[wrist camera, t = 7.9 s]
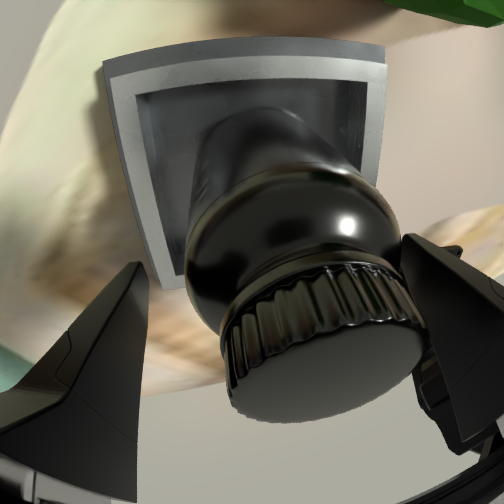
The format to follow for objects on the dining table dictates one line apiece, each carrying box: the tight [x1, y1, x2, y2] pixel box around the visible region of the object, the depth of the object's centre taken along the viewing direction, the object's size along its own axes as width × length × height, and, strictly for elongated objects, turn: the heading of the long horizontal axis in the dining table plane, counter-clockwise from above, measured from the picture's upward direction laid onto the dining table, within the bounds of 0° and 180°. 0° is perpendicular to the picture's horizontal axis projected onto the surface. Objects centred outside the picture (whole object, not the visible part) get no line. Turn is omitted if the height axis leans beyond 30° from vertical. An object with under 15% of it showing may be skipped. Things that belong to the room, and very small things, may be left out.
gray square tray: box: [102, 36, 387, 290], centre depth 15 cm, size 14×14×3 cm
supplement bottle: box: [184, 109, 430, 423], centre depth 11 cm, size 7×7×12 cm
